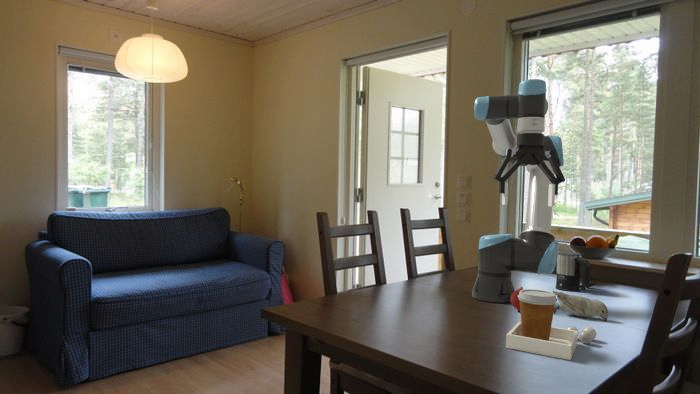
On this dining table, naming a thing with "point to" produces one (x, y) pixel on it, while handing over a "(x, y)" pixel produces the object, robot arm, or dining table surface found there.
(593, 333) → the pebble
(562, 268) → the milk frother
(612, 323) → the dining table surface
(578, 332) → the pebble
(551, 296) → the disposable coffee cup
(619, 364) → the dining table surface
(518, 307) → the red round fruit
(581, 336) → the pebble
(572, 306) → the decorative bird
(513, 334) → the dish
